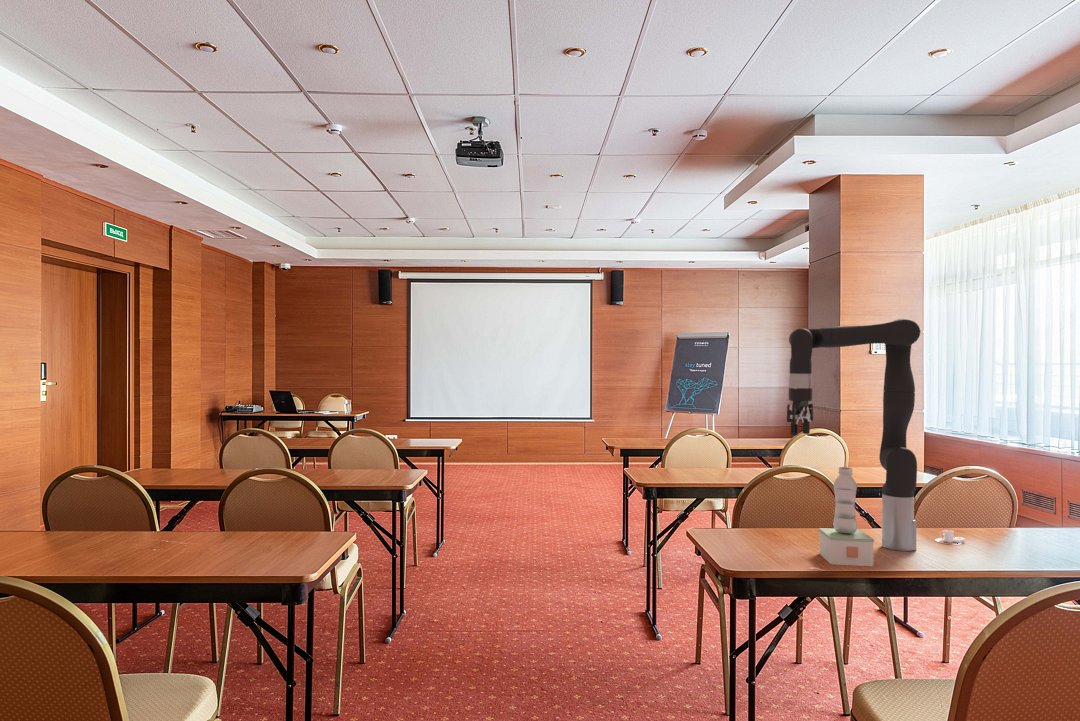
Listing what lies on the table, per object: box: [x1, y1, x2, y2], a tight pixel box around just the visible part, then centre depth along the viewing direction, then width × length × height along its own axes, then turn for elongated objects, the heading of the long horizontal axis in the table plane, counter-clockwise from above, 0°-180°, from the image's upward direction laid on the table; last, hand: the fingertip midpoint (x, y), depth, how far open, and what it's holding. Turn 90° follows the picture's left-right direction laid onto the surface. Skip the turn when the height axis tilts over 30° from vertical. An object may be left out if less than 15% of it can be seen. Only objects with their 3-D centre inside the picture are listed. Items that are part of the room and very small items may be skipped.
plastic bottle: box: [832, 466, 858, 534], centre depth 205 cm, size 6×7×20 cm
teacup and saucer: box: [934, 529, 966, 546], centre depth 229 cm, size 9×8×4 cm
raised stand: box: [818, 527, 875, 567], centre depth 205 cm, size 12×13×8 cm
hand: (800, 434), depth 228 cm, fingers open, 8 cm apart
